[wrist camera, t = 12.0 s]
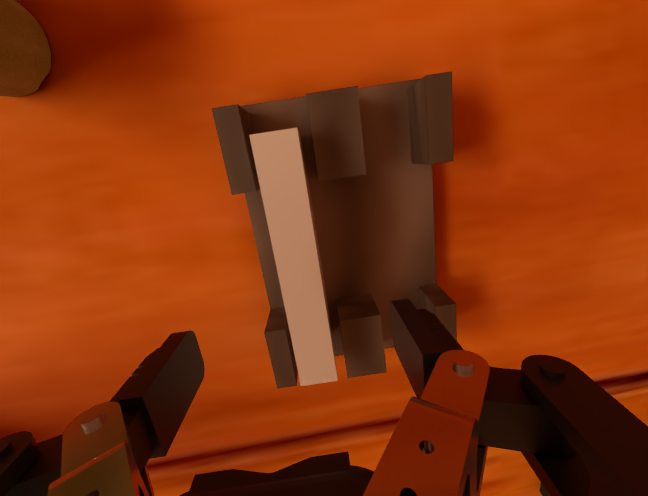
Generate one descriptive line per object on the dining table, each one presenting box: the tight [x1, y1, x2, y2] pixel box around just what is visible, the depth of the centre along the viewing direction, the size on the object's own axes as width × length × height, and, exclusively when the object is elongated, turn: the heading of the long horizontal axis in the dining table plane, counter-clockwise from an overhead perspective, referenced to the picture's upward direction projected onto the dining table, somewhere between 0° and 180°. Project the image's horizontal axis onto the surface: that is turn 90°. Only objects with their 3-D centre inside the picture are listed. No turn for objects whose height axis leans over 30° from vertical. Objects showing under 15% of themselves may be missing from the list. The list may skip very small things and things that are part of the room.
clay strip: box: [249, 128, 338, 386], centre depth 21 cm, size 2×16×6 cm, turn 8°
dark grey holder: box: [212, 72, 457, 388], centre depth 23 cm, size 14×21×5 cm, turn 8°
